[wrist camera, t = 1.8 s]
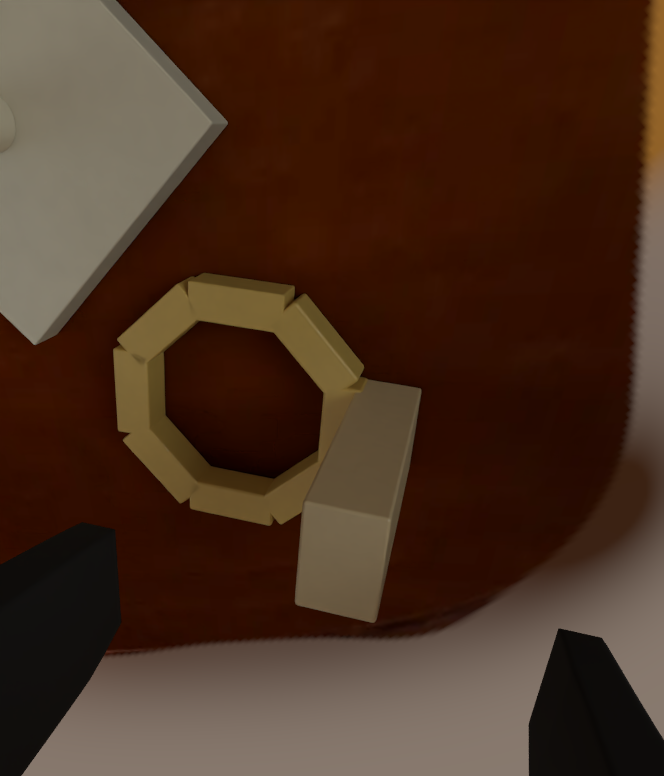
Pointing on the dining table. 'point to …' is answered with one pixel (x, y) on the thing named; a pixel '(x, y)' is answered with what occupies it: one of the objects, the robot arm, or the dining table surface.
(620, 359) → the dining table surface
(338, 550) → the tan ring with handle
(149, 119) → the white peg stand
